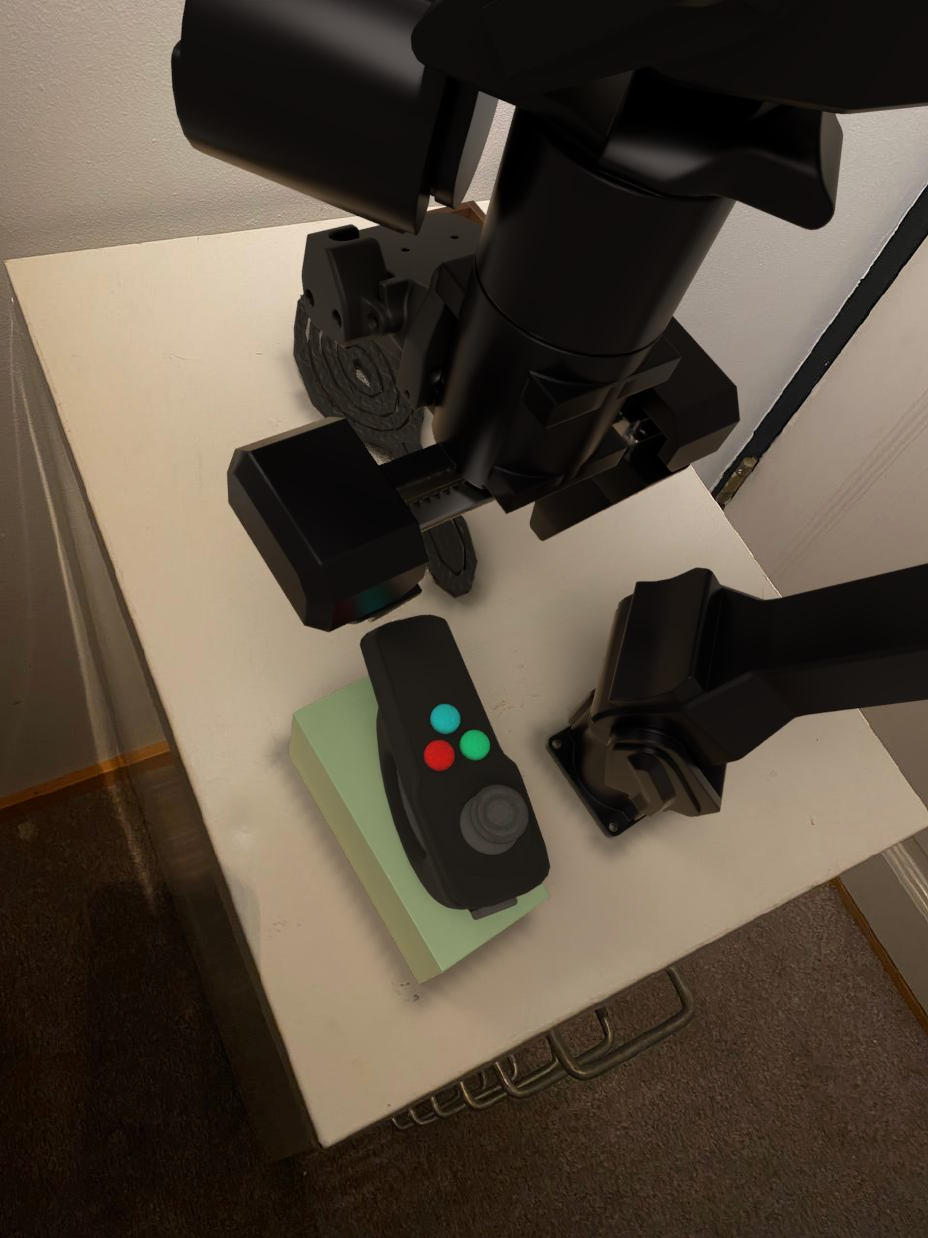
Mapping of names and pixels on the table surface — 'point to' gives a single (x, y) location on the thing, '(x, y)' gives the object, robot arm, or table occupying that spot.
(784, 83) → the robot arm
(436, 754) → the controller
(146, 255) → the table surface
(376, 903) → the mint green rectangular brick
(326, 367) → the hairbrush
